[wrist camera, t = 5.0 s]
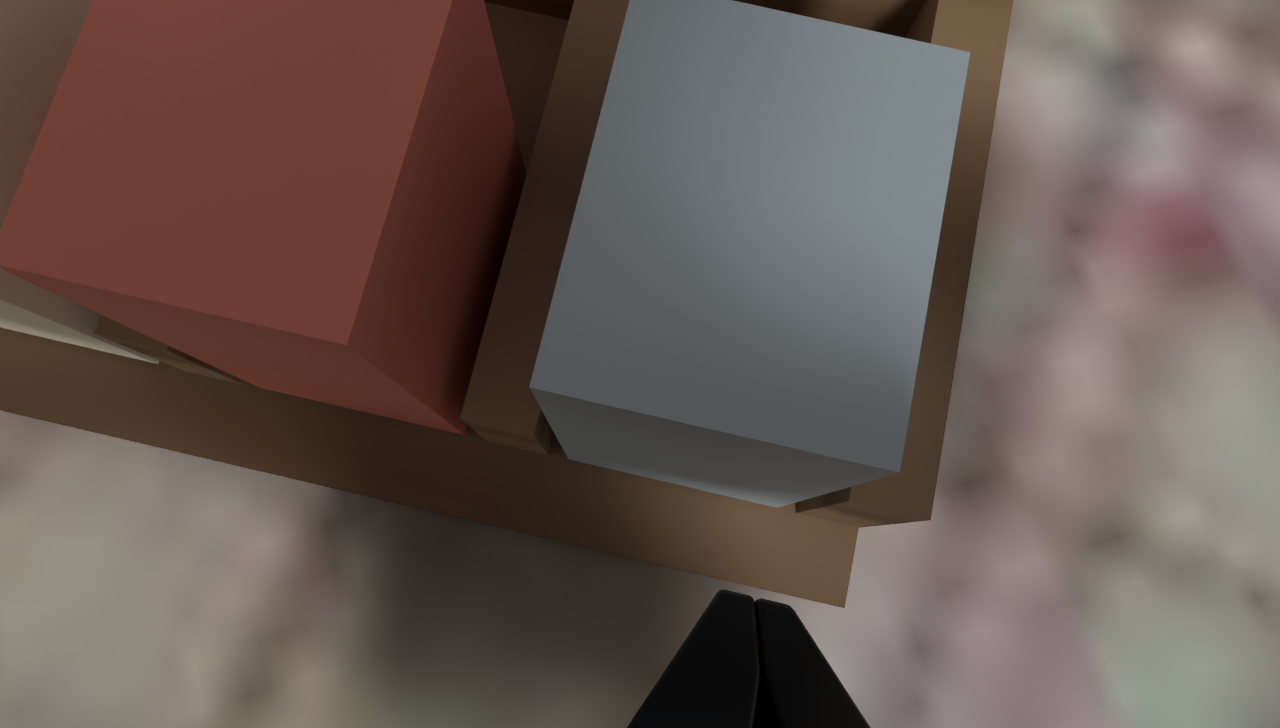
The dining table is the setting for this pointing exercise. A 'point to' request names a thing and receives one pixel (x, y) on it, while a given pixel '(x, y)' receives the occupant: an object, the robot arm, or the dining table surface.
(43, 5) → the white key
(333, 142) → the red key
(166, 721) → the dining table surface
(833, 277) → the grey rectangular block
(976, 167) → the key console
